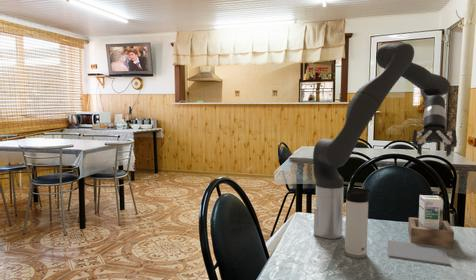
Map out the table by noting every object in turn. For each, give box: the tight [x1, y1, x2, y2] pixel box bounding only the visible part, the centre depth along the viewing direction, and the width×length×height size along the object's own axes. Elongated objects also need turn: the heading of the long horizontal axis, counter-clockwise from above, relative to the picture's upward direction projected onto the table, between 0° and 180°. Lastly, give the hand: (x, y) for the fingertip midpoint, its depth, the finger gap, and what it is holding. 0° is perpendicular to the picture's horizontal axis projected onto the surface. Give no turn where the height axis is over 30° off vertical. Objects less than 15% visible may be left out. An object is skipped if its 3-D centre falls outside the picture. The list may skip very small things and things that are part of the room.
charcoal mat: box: [387, 239, 452, 267], centre depth 108 cm, size 16×13×1 cm
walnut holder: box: [407, 216, 455, 249], centre depth 119 cm, size 12×12×5 cm
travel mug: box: [344, 188, 371, 259], centre depth 106 cm, size 6×7×20 cm
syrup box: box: [418, 194, 444, 230], centre depth 119 cm, size 6×6×14 cm
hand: (433, 154), depth 128 cm, fingers open, 8 cm apart
